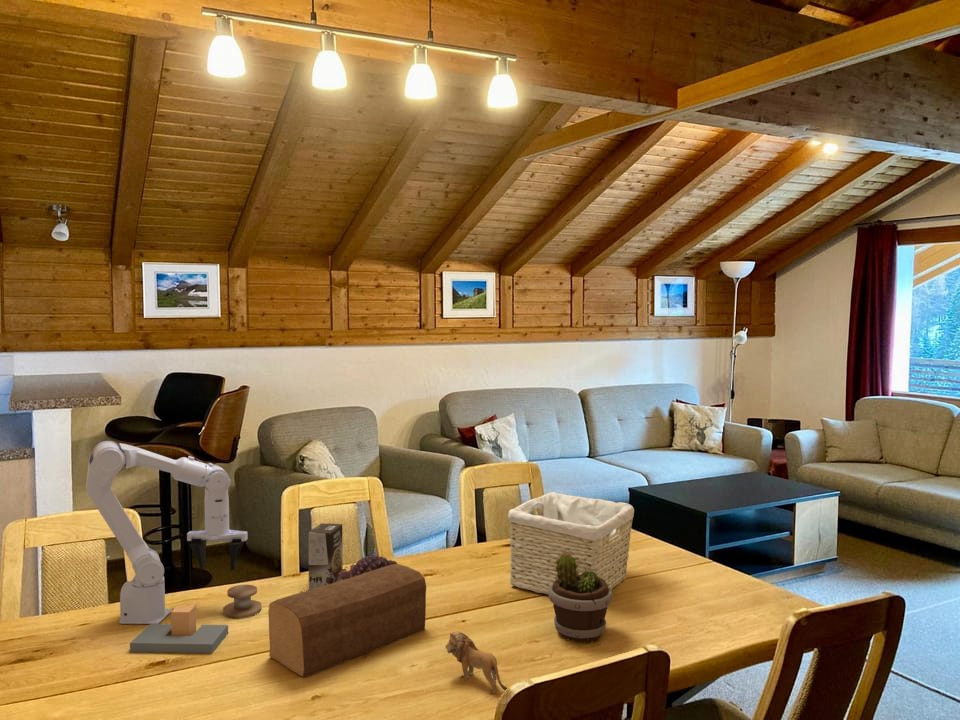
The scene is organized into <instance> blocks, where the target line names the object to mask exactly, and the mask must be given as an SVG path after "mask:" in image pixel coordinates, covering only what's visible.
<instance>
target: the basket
mask: <svg viewBox="0 0 960 720" xmlns="http://www.w3.org/2000/svg"><path fill="white" fill-rule="evenodd" d="M533 511H536V513H537V514H536V515H535V514H532V512H533ZM507 514H508V515H507V519H508V521H509V535H510V536H509V537H510V539H509V543H510V544H509V545H510V554H509V557H510V563H509V565H510V572H509V573H510V577H509V584H510V585H511V586H513V587H517V588H520V589H523V590H530V591H532V592H534V593H537V594H544V595H548V596H549V588H550V586H551V585H552V584H553V583H554V581H555V580H556V579H558V578H555V577H556V575H558V573H557V572H558V571H555V570H554V569H555V567H557V565H556V564H557V563H556V562H557V560H558V559H559V558H560V556H562V553H563V552H564V553H568V552H569V553H570V552H571V551H572V552H571V554H572V555H570V556H572V557H574V559H575V558H576V559H577V560H575V561H576V564H577V565H578V567H579V568H578V567H577V568H576V572H577V570H578V572H579V573H578V574H577V575H581V574H582V573H584V572H585V570H586V571H589V569H591V570H592V569H595V571H596V572H595V571H594V570H592V571H593V572H595V573H596V574H597V576H598V577H599V578H602V579H604V580H605V582H606V583H607V585H608V587H610V588H611V590H613V589H614V588H615V587H616V586H618V585H619V584H620V583H622V581H625V580H626V578H627V570H628V569H627V568H628V560H629V555H630V554H629V550H630V541H631V532H632V524H633V518H634V516H635V515H634V514H635V508H634V507H633V505H632V504H630V503H627V502H622V501H619V502H615V501H611V500H605V499H601V498H592V497H589V498H588V497H584V496H578V495H569V494H565V493H557V492H556V491H552V492H548V493H545V494H543V495H540V496H538V497H535V498H532V499H529V500H527V501H525V502H524V503H523V502H522V504H519V505H518V506H516V507H514V508H512V509H509V511H508V513H507ZM564 548H565V549H566V550H565V549H564ZM561 551H562V552H561ZM565 551H566V552H565ZM559 555H560V556H559ZM567 555H568V554H567ZM557 556H559V557H557ZM555 561H556V562H555ZM579 565H580V566H579ZM591 566H592V567H591ZM588 567H589V568H588ZM590 567H591V568H590ZM587 568H588V569H587ZM583 570H584V571H583ZM555 574H556V575H555Z"/></svg>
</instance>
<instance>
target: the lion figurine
mask: <svg viewBox="0 0 960 720" xmlns="http://www.w3.org/2000/svg"><path fill="white" fill-rule="evenodd" d="M444 647H445V649H446V651H447V654H452V656H453V657H455V658H456V661H457V662H459V663H461V669H462V672H463V673H462V674H463V675H461V676H460V680H461V681H467V679H468V678H469V676H472V675H473V674H474V669H477V670H482V672H483V675H484V677H485V679H486V681H487V682H488V683H489V685H490V686H491V688H490V689H489V694H490V695H495V694H496V692H497V685H496V683H497V682H498V685H499V687H500V688H501V689H502V690H503V691H505V690H506V689H507V688H508V687H507V686H506V685H504V684H503V683H502V681H501V678H500V675H499V670H498V661H497V658H496V657H495V655H494V654H493V653H492V652H486V651H483V650H480V649H479V648H478V647H476V645H475V643H474V641H473V640H472V639H471V638H470V637H469V636H468V635H466V634H465V633H463V632H460V631H453V632H451V633H449V639H448V642H447V644H445V645H444ZM505 692H506V691H505Z"/></svg>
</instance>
